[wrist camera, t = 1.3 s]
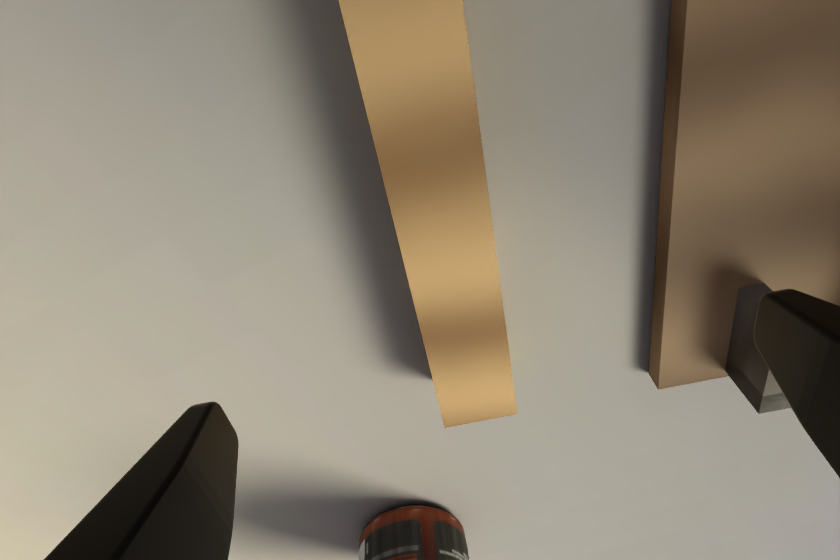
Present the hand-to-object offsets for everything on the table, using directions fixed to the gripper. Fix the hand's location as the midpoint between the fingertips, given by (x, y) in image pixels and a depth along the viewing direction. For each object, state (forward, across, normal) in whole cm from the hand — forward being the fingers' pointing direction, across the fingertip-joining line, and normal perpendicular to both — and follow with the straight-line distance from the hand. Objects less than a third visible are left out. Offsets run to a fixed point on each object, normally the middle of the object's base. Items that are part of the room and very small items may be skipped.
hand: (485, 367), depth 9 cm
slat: (+11, 0, 0) cm, 11 cm away
